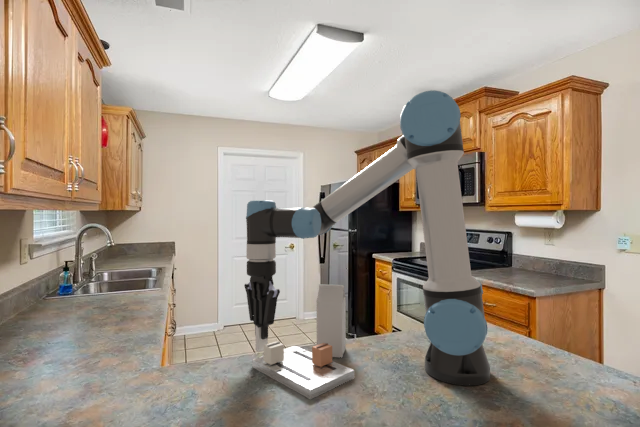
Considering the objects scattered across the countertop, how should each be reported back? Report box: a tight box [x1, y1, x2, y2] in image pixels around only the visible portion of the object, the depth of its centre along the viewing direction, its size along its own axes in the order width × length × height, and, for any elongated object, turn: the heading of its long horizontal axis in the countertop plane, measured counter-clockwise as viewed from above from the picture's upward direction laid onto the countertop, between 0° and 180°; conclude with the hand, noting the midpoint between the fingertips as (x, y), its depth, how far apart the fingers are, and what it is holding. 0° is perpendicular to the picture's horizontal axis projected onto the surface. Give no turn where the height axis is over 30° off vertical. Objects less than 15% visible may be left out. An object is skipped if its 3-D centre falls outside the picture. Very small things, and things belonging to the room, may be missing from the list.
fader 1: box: [263, 340, 285, 365], centre depth 91 cm, size 3×4×4 cm
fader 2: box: [311, 343, 333, 367], centre depth 90 cm, size 3×4×4 cm
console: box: [251, 345, 355, 400], centre depth 89 cm, size 22×14×2 cm, turn 44°
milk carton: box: [316, 283, 347, 359], centre depth 102 cm, size 7×7×19 cm
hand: (261, 350), depth 95 cm, fingers closed
